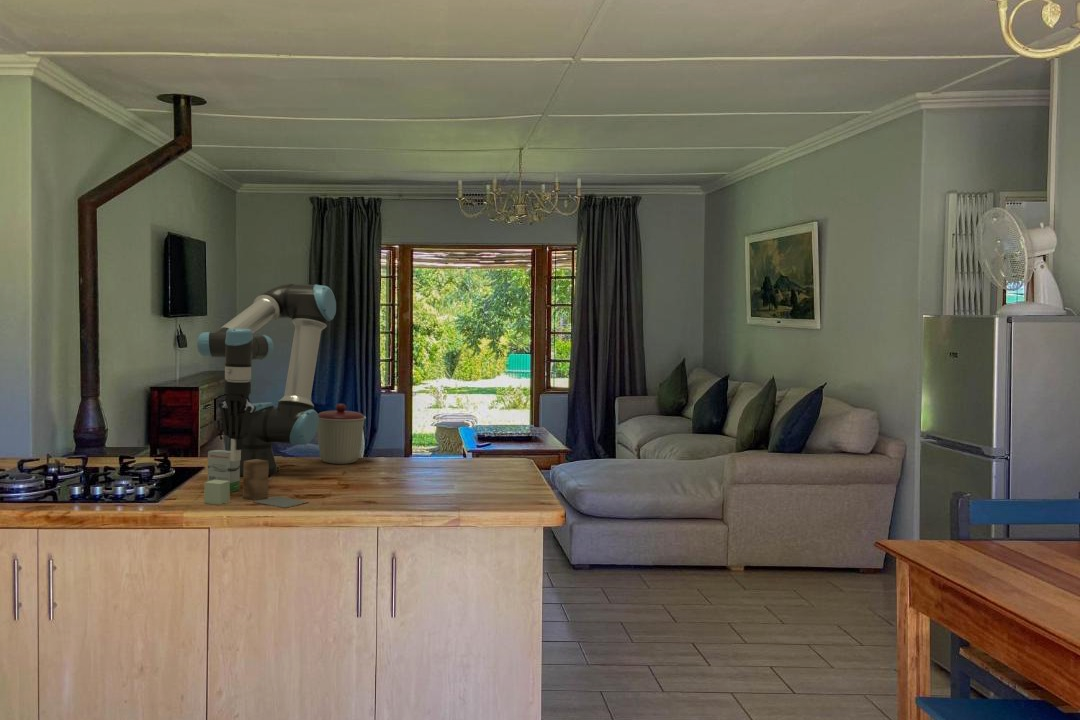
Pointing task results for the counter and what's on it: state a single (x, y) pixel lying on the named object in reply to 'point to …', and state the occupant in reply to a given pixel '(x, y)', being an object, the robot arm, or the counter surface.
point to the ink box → (223, 468)
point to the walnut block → (255, 479)
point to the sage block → (217, 492)
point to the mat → (280, 501)
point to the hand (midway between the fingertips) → (235, 460)
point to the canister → (340, 435)
